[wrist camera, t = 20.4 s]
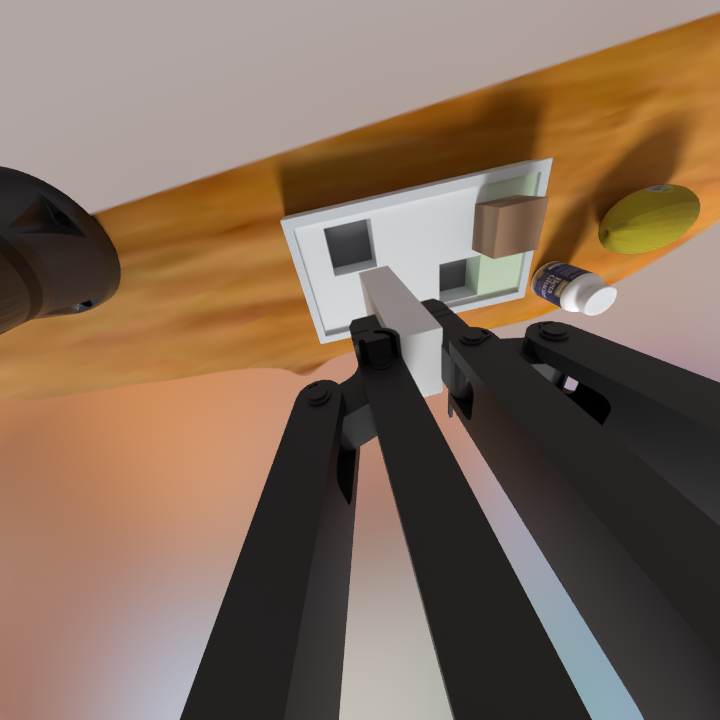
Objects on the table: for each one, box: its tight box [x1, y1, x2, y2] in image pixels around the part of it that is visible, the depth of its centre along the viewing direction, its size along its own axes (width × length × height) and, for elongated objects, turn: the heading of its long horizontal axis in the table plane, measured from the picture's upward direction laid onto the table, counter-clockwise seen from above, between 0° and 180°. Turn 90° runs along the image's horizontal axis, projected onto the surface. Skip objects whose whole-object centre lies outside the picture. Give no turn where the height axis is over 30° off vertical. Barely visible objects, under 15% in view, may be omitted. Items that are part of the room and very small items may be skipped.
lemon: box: [598, 184, 700, 254], centre depth 33 cm, size 11×8×8 cm
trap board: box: [280, 158, 553, 344], centre depth 34 cm, size 30×16×5 cm, turn 100°
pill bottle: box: [531, 261, 617, 316], centre depth 36 cm, size 5×5×10 cm
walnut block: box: [472, 195, 549, 259], centre depth 29 cm, size 5×5×5 cm
